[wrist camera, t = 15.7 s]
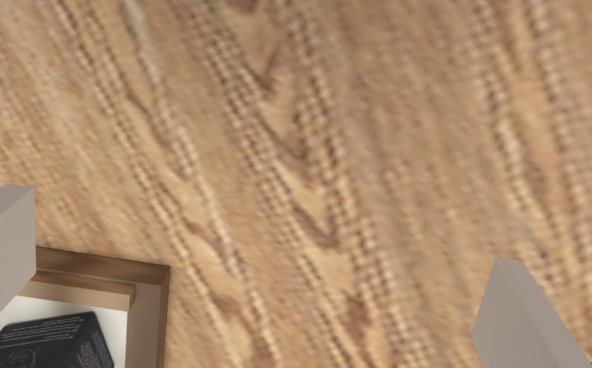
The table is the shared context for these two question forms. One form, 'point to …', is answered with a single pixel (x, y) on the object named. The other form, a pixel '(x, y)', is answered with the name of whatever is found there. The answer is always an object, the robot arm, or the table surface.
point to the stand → (100, 301)
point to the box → (55, 344)
